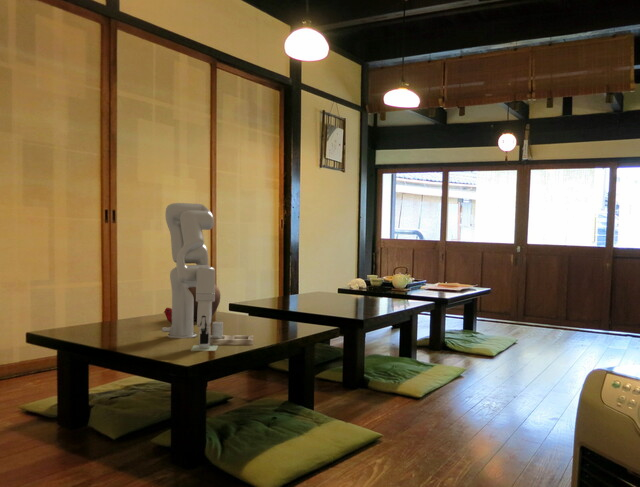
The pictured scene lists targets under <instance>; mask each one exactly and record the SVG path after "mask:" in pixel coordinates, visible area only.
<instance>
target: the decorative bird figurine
mask: <svg viewBox="0 0 640 487" xmlns="http://www.w3.org/2000/svg"><path fill="white" fill-rule="evenodd" d="M163 313H164V315H165V317H166V320H167V321H168V322H169V323H171V324H172V307H171V308H170V307H165V309H164V311H163Z"/></svg>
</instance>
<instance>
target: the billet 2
mask: <svg viewBox="0 0 640 487" xmlns="http://www.w3.org/2000/svg"><path fill="white" fill-rule="evenodd" d="M211 323H212V326H211V327H212V328H211V329H212V333H211V334H212V339H223V335H224V321H212V322H211Z"/></svg>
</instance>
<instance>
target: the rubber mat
mask: <svg viewBox="0 0 640 487" xmlns="http://www.w3.org/2000/svg"><path fill="white" fill-rule="evenodd" d="M218 348H219V345H210V348H209V349H199V344H193V346H192V348H191V349H190V351H191V352H194V351H196V352H197V351H199V352H200V351H201V352H202V351H203V352H206V351H210V352H212V351H213V352H214V351H215V352H216V351H217V349H218Z"/></svg>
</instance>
